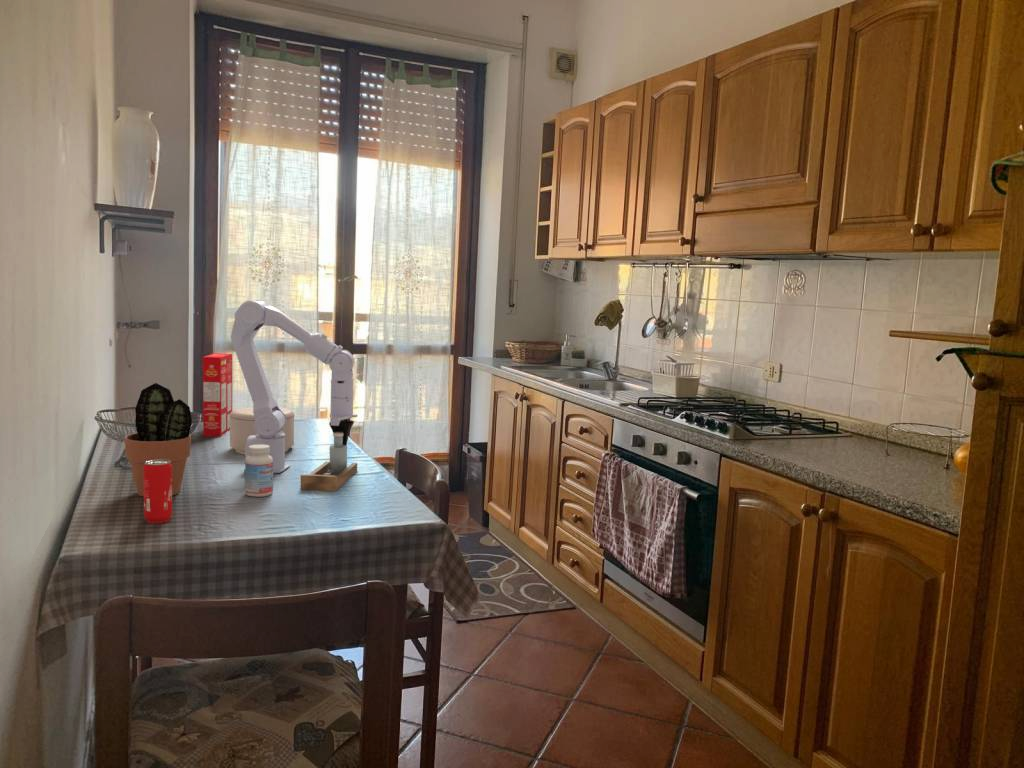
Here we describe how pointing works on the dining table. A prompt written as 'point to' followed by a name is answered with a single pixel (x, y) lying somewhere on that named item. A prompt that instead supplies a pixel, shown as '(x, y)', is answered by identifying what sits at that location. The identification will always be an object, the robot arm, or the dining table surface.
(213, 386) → the food packaging
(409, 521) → the dining table surface
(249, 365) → the robot arm
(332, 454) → the bottle
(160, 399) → the potted plant
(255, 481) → the pill bottle
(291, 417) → the container
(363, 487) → the dining table surface
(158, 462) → the beverage can
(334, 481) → the cradle
